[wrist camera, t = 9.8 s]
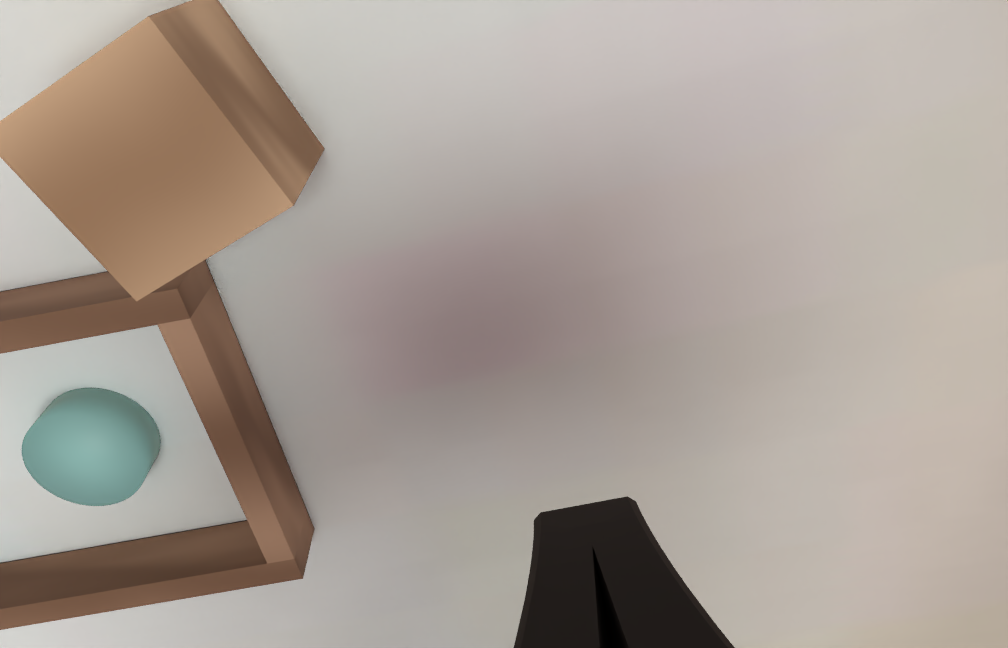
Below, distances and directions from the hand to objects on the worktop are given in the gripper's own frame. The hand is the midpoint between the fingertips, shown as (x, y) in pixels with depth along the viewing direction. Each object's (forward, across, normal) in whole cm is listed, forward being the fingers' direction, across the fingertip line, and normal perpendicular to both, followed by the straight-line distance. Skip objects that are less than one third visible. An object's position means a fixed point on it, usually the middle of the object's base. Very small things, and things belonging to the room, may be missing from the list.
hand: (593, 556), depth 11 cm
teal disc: (+11, +13, +3) cm, 17 cm away
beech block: (+11, +7, -5) cm, 14 cm away
